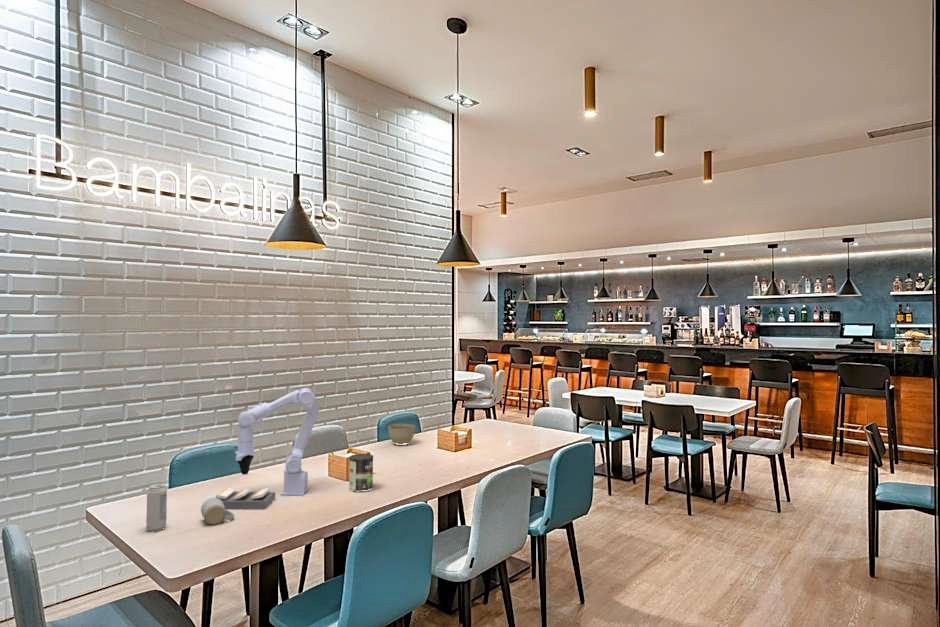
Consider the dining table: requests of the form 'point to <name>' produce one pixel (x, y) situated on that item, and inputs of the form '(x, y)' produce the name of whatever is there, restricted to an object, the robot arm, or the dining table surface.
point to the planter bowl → (401, 433)
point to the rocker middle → (242, 493)
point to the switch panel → (248, 501)
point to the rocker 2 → (260, 493)
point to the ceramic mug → (215, 511)
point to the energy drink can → (156, 507)
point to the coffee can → (361, 472)
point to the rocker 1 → (225, 493)
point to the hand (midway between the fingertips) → (244, 474)
